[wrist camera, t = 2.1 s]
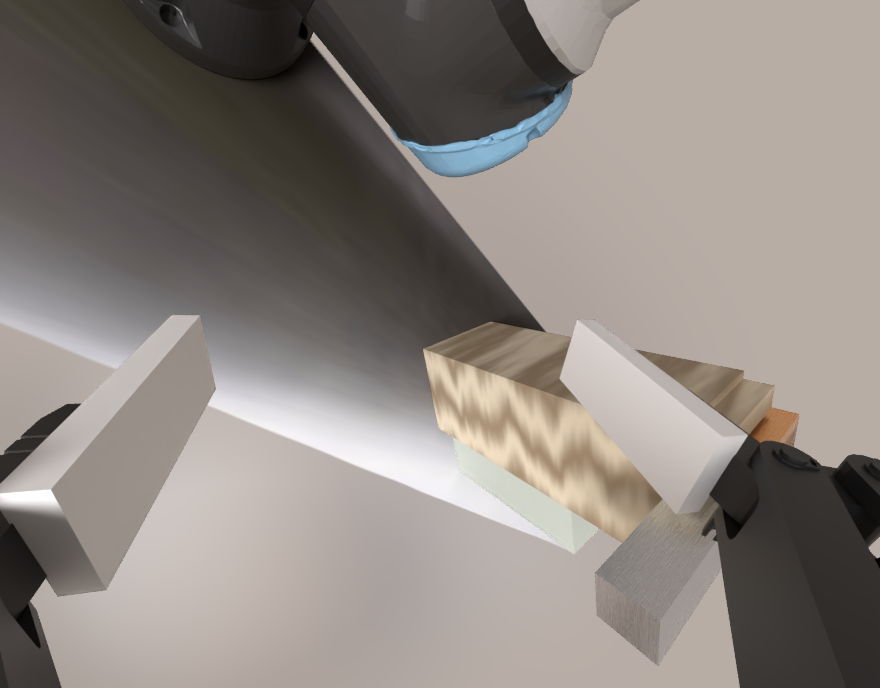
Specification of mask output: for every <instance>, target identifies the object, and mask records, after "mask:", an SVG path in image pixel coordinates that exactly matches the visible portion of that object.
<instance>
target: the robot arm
mask: <svg viewBox="0 0 880 688" xmlns="http://www.w3.org/2000/svg"><path fill="white" fill-rule="evenodd" d="M124 1H125V3H126V4H127V5H128V7H129V8H130V9H131V10H132V12H133V13H134V14H135V15H136V16H137V17H138V18H139V20H140V21H141V22H142V23H143V24H144V25H145V26H146V27H147V28H148V29H149V30H150V31H151V32H152V33H153V34H154V35H156V36H157V37H158V38H159V39H160V40H161V41H163V42H164V43H165V44H166V45H167V46H169V47H170V48H171V49H173V50H174V51H176V52H177V53H179V54H180V55H182V56H183V57H185V58H186V59H188V60H190V61H191V62H193V63H195V64H197V65H199V66H201V67H203V68H205V69H208V70H210V71H213V72H215V73H218V74H221V75H225V76H229V77H233V78H239V79H262V78H267V77H271V76H274V75H276V74H279V73H281V72H283V71H284V70H286V69H287V68H289V67H290V66H291V65H292V64H293V63H294V62H295V61H296V60H297V59H298V58H299V56H300V55H301V53H302V52H303V50H304V49H305V47H306V46H307V44H308V42H309V41H310V39H311V36H312V34H313V32H314V33H315V34H316V35H317V36H318V38H319V39H320V40H321V41H322V43H323V44H324V45H325V46H326V47H327V49H328V50H329V51H330V52H331V54H332V55H333V56H334V57H335V58H336V60H337V61H338V62H339V64H340V65H341V66H342V67H343V69H344V70H345V71H346V72H347V73H348V75H349V76H350V77H351V78H352V80H353V81H354V82H355V83H356V85H357V86H358V87H359V88H360V90H362V92H363V93H364V95H365V96H366V97H367V98H368V99H369V101H370V102H371V103H372V104H373V105H374V107H375V108H376V109H377V111H378V112H379V113H380V114H381V116H382V117H383V118H384V119H385V121H386V122H387V123H388V124H389V125H390V128H391V131H392V133H393V135H394V136H395V137H396V139H397V140H398V141H400V142H401V143H402V144H403V145H405V146H407V147H408V148H409V149H410V150H411V151H412V152H413V153H414V155H415V156H416V157H417V158H418V159H419V160H420V161H421V162H422V164H423V165H424V166H425V167H426V168H427V169H429V170H431V171H432V172H434V173H436V174H439V175H441V176H447V177H462V176H468V175H473V174H476V173H479V172H483V171H485V170H488V169H490V168H493V167H495V166H497V165H499V164H502V163H503V162H505V161H507V160H509V159H511V158H512V157H514V156H516V155H517V154H519V153H520V152H522V151H523V150H525V149H526V148H527V146H528V142H529V141H530V140H532V139H534V138H538V137H541V136H543V135H544V134H545V133H546V132H547V131H548V130H549V129H550V128H551V127H552V126H553V125H554V124H555V123H556V122H557V120H558V119H559V118H560V116H561V115H562V113H563V112H564V110H565V109H566V108H567V105H568V103H569V100H570V97H571V94H572V82H573V79H574V78H576V77H578V76H579V75H581V74H583V73H584V72H585V71H587V70H588V69H589V68H590V67H591V66H592V64H593V62H594V59H595V56H596V54H597V51H598V49H599V46H600V44H601V41H602V39H603V36H604V33H605V31H606V29H607V28H608V26H609V25H610V23H611V22H612V20H613V18H614V17H616V16H617V15H619V14H620V13H622V12H623V11H624V10H626V9H628V8H629V7H630V6H632V5H633V4H635V3H636V2H638V1H639V0H124ZM559 379H560V380H561V381H562V382H563V383H564V384H565V386H566V387H567V388H568V389H569V390H570V391H571V393H572V394H573V395H574V396H575V397H576V398H577V400H578V401H579V402H580V403H581V404H582V405H583V407H584V408H585V409H586V410H587V411H588V412H589V414H590V415H591V416H592V417H593V418H594V419H595V421H596V422H597V423H598V424H599V425H600V426H601V428H602V429H603V430H604V431H605V432H606V433H607V435H608V436H609V437H610V438H611V439H612V440H613V442H614V443H615V444H616V445H617V446H618V447H619V449H620V450H621V451H622V452H623V453H624V454H625V456H626V457H627V458H628V459H629V460H630V461H631V463H632V464H633V465H634V466H635V467H636V468H637V470H638V471H639V472H640V473H641V474H642V475H643V476H644V478H645V479H646V480H647V481H648V482H649V483H650V485H651V486H652V487H653V488H654V489H655V490H656V492H657V493H658V494H659V495H660V496H661V497H662V499H663V500H664V501H665V502H666V503H667V504H668V506H669V507H670V508H671V509H672V510H673V511H674V513H675V514H676V515H677V514H685V513H692V512H699V511H700V510H701V508H702V506H703V505H704V503H705V502H706V500H707V499H708V497H709V496H711V497H712V498H713V499H714V500H715V501H716V502H717V503H718V504H719V505H718V507H717V508H716V510H715V511H714V513H713V514H712V516H711V517H710V519H709V520H708V522H707V523H706V525H705V526H704V528H703V529H702V534H701V535H703V536H705V537H706V536H707V535H708V533H709V532H710V530H713V529H714V530H716V535H715V536H714V538H713V540H714V541H716V542H718V548H719V555H720V561H721V568H722V574H723V580H724V587H725V593H726V600H727V607H728V613H729V619H730V626H731V633H732V639H733V645H734V652H735V658H736V664H737V671H738V678H739V684H740V688H880V558H876V557H875V556H874V555H873V554H872V553H871V552H870V550H869V548H868V547H869V546H870V545H871V544H872V543H873V542H874V541H875V540H877V539H878V538H879V537H880V460H878V459H875V458H874V459H873V458H870V457H866V456H863V455H855V454H853V455H849V456H847V457H846V458H845V460H844V461H843V462H842V463H841V464H840V466H839V467H838V468H832V467H826V466H821V465H820V464H819V463H818V462H817V461H816V460H815V459H813V458H812V457H811V456H809V455H807V454H805V453H804V452H802V451H800V450H799V449H797V448H794V447H792V446H789V445H787V444H784V443H780V442H776V441H763V442H761V443H760V442H759V441H757V440H756V439H755V438H753V437H752V436H751V435H749V434H748V433H747V432H745V431H744V430H743V429H741V428H740V427H739V426H737V425H736V424H735V423H733V422H732V421H731V420H729V419H728V418H727V417H725V416H724V415H723V414H721V413H720V412H717V411H716V409H715V408H713V407H712V406H711V405H709V404H708V403H705V402H704V400H703V399H701V398H700V397H699V396H697V395H696V394H695V393H693V392H692V391H691V390H689V389H687V388H685V387H684V386H682V385H681V384H680V383H678V382H677V381H676V380H674V379H673V378H672V377H670V376H669V375H668V374H666V373H665V372H664V371H662V370H661V369H660V368H658V367H657V366H656V365H654V364H653V363H652V362H650V361H649V360H648V359H646V358H645V357H644V356H642V355H641V354H640V353H638V352H637V351H636V350H634V349H633V348H632V347H630V346H629V345H628V344H626V343H625V342H624V341H622V340H621V339H619V338H618V337H617V336H616V335H614V334H613V333H612V332H610V331H609V330H608V329H606V328H605V327H604V326H602V325H601V324H600V323H598V322H597V321H596V320H583V319H580V320H579V319H578V320H577V322H576V325H575V329H574V332H573V335H572V339H571V342H570V345H569V348H568V352H567V355H566V358H565V362H564V365H563V368H562V372H561V375H560V378H559ZM215 389H216V387H215V383H214V378H213V373H212V369H211V364H210V360H209V355H208V350H207V346H206V341H205V336H204V332H203V327H202V323H201V318H200V315H172V316H170V317H169V318H168V319H167V320H166V321H165V322H164V323H163V324H162V325H161V326H160V327H159V328H158V329H157V330H156V331H155V332H154V333H153V334H152V335H151V336H150V337H149V338H148V339H147V340H146V341H145V342H144V343H143V344H142V345H141V346H140V347H139V348H138V349H137V350H136V351H135V352H134V353H133V354H132V355H131V356H130V357H129V358H128V359H127V360H126V361H125V362H124V363H123V364H122V365H121V366H120V367H119V368H118V369H117V370H116V371H115V372H114V373H113V374H111V375H110V376H109V378H107V379H106V380H105V382H103V383H102V384H101V385H100V386H99V387H98V388H97V389H96V390H95V391H94V392H93V393H92V394H91V395H90V396H89V397H88V398H87V399H86V400H85V401H84V402H83V403H82V404H66V405H64V406H63V407H61V408H59V409H57V410H55V411H54V412H52V413H50V414H48V415H47V416H45V417H43V418H41V419H40V420H39V421H37V422H36V423H35V424H34V425H33V426H32V427H31V428H30V429H28V430H27V431H26V432H25V433H24V434H23V435H22V436H21V439H20V440H17V441H15V442H14V443H13V444H12V445H11V446H10V447H9V448H7V449H6V450H5V451H4V452H5V453H4V455H0V688H61V685H60V681H59V678H58V675H57V672H56V669H55V666H54V663H53V660H52V657H51V654H50V650H49V647H48V644H47V641H46V638H45V635H44V632H43V629H42V626H41V622H40V619H39V616H38V613H37V610H36V609H35V607H34V606H33V605H32V603H31V602H30V600H31V598H32V597H33V596H34V594H35V593H36V591H37V590H38V588H39V587H40V586H41V584H42V583H43V581H44V580H45V578H46V580H47V581H48V582H49V584H50V586H51V587H52V588H53V590H54V592H55V593H56V594H57V596H65V595H73V594H81V593H88V592H96V591H103V590H106V589H107V588H108V586H109V584H110V582H111V580H112V579H113V577H114V575H115V573H116V571H117V569H118V567H119V566H120V564H121V562H122V560H123V558H124V557H125V555H126V553H127V551H128V549H129V547H130V546H131V544H132V542H133V540H134V538H135V536H136V535H137V533H138V531H139V529H140V527H141V525H142V523H143V522H144V520H145V518H146V516H147V514H148V512H149V511H150V509H151V507H152V505H153V503H154V501H155V500H156V498H157V496H158V494H159V492H160V490H161V488H162V487H163V485H164V483H165V481H166V479H167V477H168V476H169V474H170V472H171V470H172V468H173V466H174V465H175V463H176V461H177V459H178V457H179V455H180V454H181V452H182V450H183V448H184V446H185V445H186V443H187V441H188V439H189V437H190V435H191V433H192V432H193V430H194V428H195V426H196V424H197V422H198V420H199V419H200V417H201V415H202V413H203V411H204V410H205V408H206V406H207V404H208V402H209V400H210V399H211V397H212V395H213V393H214V391H215Z"/></svg>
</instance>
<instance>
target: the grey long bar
mask: <svg viewBox="0 0 880 688" xmlns="http://www.w3.org/2000/svg"><path fill="white" fill-rule="evenodd" d="M798 419H799V414H797V413H792V412H788V411H784V410H780V409H776V408H772V407H771V409H770V410H769V411H768V412H767V413H766V415H765V416H764V417H763V418H762V420H761V421H760V422H759V423H758V424H757V426H756V427H755V428H754V429H753V430H752V432H751V433H750V434H749V435H751V436H752V437H753V438H755V439H756V440H757V441H759V442H760V443H761V442H763V441H776V442H780V443H784V444H787V445H789V446H792V447H794V441H795V436H796V430H797V425H798ZM718 505H719V504H718V503H717V502H716V501H715V500H714V499H713V498H712V497H711V496H709V497H708V499H707V500H706V502H705V503H704V505H703V506H702V508H701V510H700V511H699V512H692V513H685V514H677V515H676V514H675V513H674V511H673V510H672V509H671V508H670V507H669V506H668V504H667V503H666V502H665V501H664V500H663V499H662V500H661V501H660V502H659V503H658V505H657V506H656V507H655V508H654V509H653V510H652V511H651V512H650V513H649V514H648V516H647V517H646V518H645V519H644V520H643V521H642V522H641V523H640V524H639V525H638V526H637V528H636V529H635V530H634V531H633V532H632V533H631V534H630V535H629V536H628V537H627V539H626V540H625V541H624V542H623V543H622V544H621V545H620V546H619V547H618V548H617V549H616V551H615V552H614V553H613V554H612V555H611V556H610V557H609V558H608V559H607V561H606V562H605V563H604V564H603V565H602V566H601V567H600V568H599V569H598V570H597V571H596V572H595V583H596V609H597V616H598V617H599V618H601V619H602V620H603V621H604V622H606V623H607V624H608V625H609V626H610V627H611V628H613V629H614V630H615V631H616V632H617V633H619V634H620V635H621V636H622V637H624V638H625V639H626V640H627V641H628V642H630V643H631V644H632V645H633V646H635V647H636V648H637V649H638V650H639V651H640V652H642V653H643V654H644V655H645V656H646V657H648V658H649V659H650V660H651V661H652V662H654V663H655V664H656V665H657V666H658V665H659V664H660V662H661V661H662V659H663V658H664V656H665V655H666V653H667V652H668V650H669V649H670V647H671V645H672V644H673V642H674V641H675V639H676V638H677V636H678V635H679V633H680V631H681V630H682V628H683V627H684V625H685V624H686V622H687V621H688V619H689V618H690V616H691V614H692V613H693V611H694V610H695V608H696V607H697V605H698V604H699V602H700V601H701V599H702V598H703V596H704V595H705V593H706V591H707V590H708V588H709V587H710V585H711V584H712V582H713V580H714V579H715V577H716V576H717V574H718V573H719V571H720V570H721V561H720V555H719V548H718V542H716V541H714V540H713V538H714V536H715V535H716V530H714V529H713V530H710V532H709V533H708V535H707V536H706V537H705V536H703V535H701V534H702V529H703V528H704V526H705V525H706V523H707V522H708V520H709V519H710V517H711V516H712V514H713V513H714V511H715V510H716V508H717V507H718Z"/></svg>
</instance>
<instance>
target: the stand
mask: <svg viewBox="0 0 880 688" xmlns="http://www.w3.org/2000/svg"><path fill="white" fill-rule="evenodd" d="M571 339H572V337H567V336H562V335H556V334H552V333H547V332H542V331H536V330H531V329H526V328H521V327H516V326H511V325H505V324H500V323H495V322H489V323H486V324H484V325H481V326H479V327H476V328H474V329H471V330H469V331H466V332H464V333H461V334H459V335H456V336H454V337H451V338H449V339H447V340H444V341H442V342H439V343H437V344H434V345H432V346H429V347H427V348H424V349H423V351H424V356H425V361H426V366H427V371H428V376H429V382H430V387H431V392H432V397H433V402H434V407H435V412H436V417H437V422H438V428H439V429H441V430H442V431H444V432H446V433H447V434H449V435H450V436H452V437H454V438H455V439H457V440H458V441H460V442H462V443H463V444H465V445H466V446H468V447H470V448H471V449H473V450H474V451H476V452H478V453H479V454H481V455H482V456H484V457H486V458H487V459H489V460H490V461H492V462H494V463H495V464H497V465H498V466H500V467H502V468H503V469H505V470H506V471H508V472H510V473H511V474H513V475H514V476H516V477H518V478H519V479H521V480H522V481H524V482H526V483H527V484H529V485H530V486H532V487H534V488H535V489H537V490H538V491H540V492H542V493H543V494H545V495H546V496H548V497H550V498H551V499H553V500H554V501H556V502H558V503H559V504H561V505H563V506H564V507H566V508H567V509H569V510H571V511H572V512H574V513H575V514H577V515H579V516H580V517H582V518H583V519H585V520H587V521H588V522H590V523H591V524H593V525H595V526H596V527H598V528H599V529H601V530H603V531H604V532H606V533H607V534H609V535H611V536H612V537H614V538H615V539H617V540H619V541H620V542H622V543H623V542H624V541H625V540H626V539H627V537H628V536H629V535H630V534H631V533H632V532H633V531H634V530H635V529H636V528H637V526H638V525H639V524H640V523H641V522H642V521H643V520H644V519H645V518H646V517H647V516H648V514H649V513H650V512H651V511H652V510H653V509H654V508H655V507H656V506H657V505H658V503H659V502H660V501H661V500H662V497H661V496H660V495H659V494H658V493H657V492H656V490H655V489H654V488H653V487H652V486H651V485H650V483H649V482H648V481H647V480H646V479H645V478H644V476H643V475H642V474H641V473H640V472H639V471H638V470H637V468H636V467H635V466H634V465H633V464H632V463H631V461H630V460H629V459H628V458H627V457H626V456H625V454H624V453H623V452H622V451H621V450H620V449H619V447H618V446H617V445H616V444H615V443H614V442H613V440H612V439H611V438H610V437H609V436H608V435H607V433H606V432H605V431H604V430H603V429H602V428H601V426H600V425H599V424H598V423H597V422H596V421H595V419H594V418H593V417H592V416H591V415H590V414H589V412H588V411H587V410H586V409H585V408H584V407H583V405H582V404H581V403H580V402H579V401H578V400H577V398H576V397H575V396H574V395H573V394H572V393H571V391H570V390H569V389H568V388H567V387H566V386H565V384H564V383H563V382H562V381H561V380H560V379H559V378H560V375H561V372H562V368H563V365H564V362H565V358H566V355H567V352H568V348H569V345H570V342H571ZM634 350H635V349H634ZM636 351H637V352H638V353H640V354H641V355H642V356H644V357H645V358H646V359H648V360H649V361H650V362H652V363H653V364H654V365H656V366H657V367H658V368H660V369H661V370H662V371H664V372H665V373H666V374H668V375H669V376H670V377H672V378H673V379H674V380H676V381H677V382H678V383H680V384H681V385H682V386H684V387H685V388H687V389H689V390H691V391H692V392H693V393H695V394H696V395H697V396H699V397H700V398H701V399H703V400H704V402H705V403H708V404H709V405H711V406H712V407H713V408H715V409H716V411H717V412H720V413H721V414H723V415H724V416H725V417H727V418H728V419H729V420H731V421H732V422H733V423H735V424H736V425H737V426H739V427H740V428H741V429H743V430H744V431H745V432H747V433H748V434H750V433H751V432H752V430H753V429H754V428H755V427H756V426H757V424H758V423H759V422H760V421H761V420H762V418H763V417H764V416H765V415H766V413H767V412H768V411H769V410H770V409H771V406H772V398H773V393H774V385H770V384H765V383H760V382H755V381H750V380H746V379H743V375H744V371H743V370H738V369H732V368H727V367H722V366H717V365H712V364H707V363H701V362H696V361H691V360H686V359H681V358H676V357H671V356H666V355H660V354H655V353H650V352H645V351H640V350H636Z"/></svg>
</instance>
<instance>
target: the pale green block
mask: <svg viewBox="0 0 880 688" xmlns="http://www.w3.org/2000/svg"><path fill="white" fill-rule="evenodd" d="M453 442H454V448H455V453H456V459H457V464H458V470H459V471H460V472H462V473H463V474H464V475H466V476H467V477H468V478H470V479H471V480H473V481H474V482H475V483H477V484H478V485H479V486H481V487H482V488H484V489H485V490H486V491H488V492H489V493H490V494H492V495H493V496H495V497H496V498H497V499H499V500H500V501H501V502H503V503H504V504H506V505H507V506H508V507H510V508H511V509H512V510H514V511H515V512H517V513H518V514H519V515H521V516H522V517H523V518H525V519H526V520H528V521H529V522H530V523H532V524H533V525H534V526H536V527H537V528H539V529H540V530H541V531H543V532H544V533H545V534H547V535H548V536H550V537H551V538H552V539H554V540H555V541H556V542H558V543H559V544H561V545H562V546H563V547H565V548H566V549H567V550H569V551H570V552H572V553H573V554H575V553H576V552H577V551H578V550H579V549H580V548H581V547H582V546H583V545H584V544H585V543H586V542H587V541H588V540H589V539H590V538H591V537H592V536H593V535H594V534H595V533H596V532H597V531H598V530H599V528H598V527H596V526H595V525H593V524H591V523H590V522H588V521H587V520H585V519H583V518H582V517H580V516H579V515H577V514H575V513H574V512H572V511H571V510H569V509H567V508H566V507H564V506H563V505H561V504H559V503H558V502H556V501H554V500H553V499H551V498H550V497H548V496H546V495H545V494H543V493H542V492H540V491H538V490H537V489H535V488H534V487H532V486H530V485H529V484H527V483H526V482H524V481H522V480H521V479H519V478H518V477H516V476H514V475H513V474H511V473H510V472H508V471H506V470H505V469H503V468H502V467H500V466H498V465H497V464H495V463H494V462H492V461H490V460H489V459H487V458H486V457H484V456H482V455H481V454H479V453H478V452H476V451H474V450H473V449H471V448H470V447H468V446H466V445H465V444H463V443H462V442H460V441H458V440H457V439H455V438H454V437H453Z"/></svg>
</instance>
